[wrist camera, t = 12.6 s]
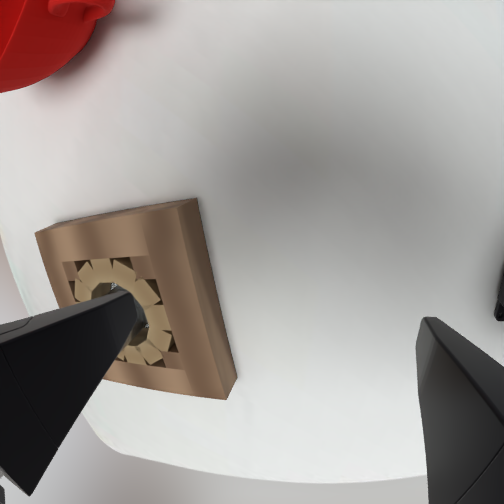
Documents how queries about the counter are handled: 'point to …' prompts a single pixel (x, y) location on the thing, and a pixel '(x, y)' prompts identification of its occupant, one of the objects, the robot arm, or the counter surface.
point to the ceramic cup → (43, 36)
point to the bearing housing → (149, 292)
